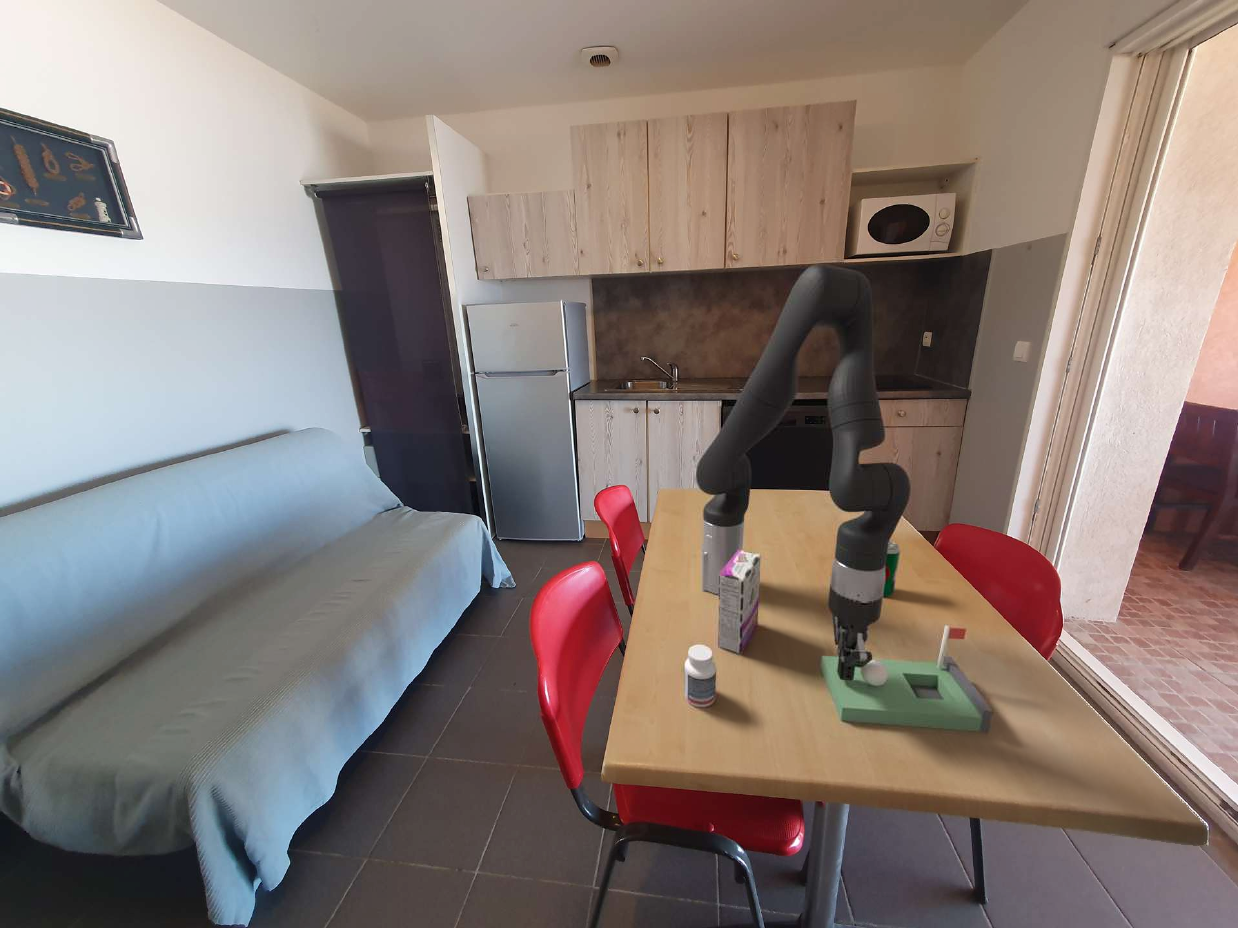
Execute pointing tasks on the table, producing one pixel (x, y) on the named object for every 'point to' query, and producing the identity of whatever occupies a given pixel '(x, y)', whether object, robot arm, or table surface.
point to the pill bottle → (700, 676)
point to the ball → (874, 673)
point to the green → (912, 694)
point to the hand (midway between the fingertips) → (845, 677)
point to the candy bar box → (738, 600)
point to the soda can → (891, 568)
